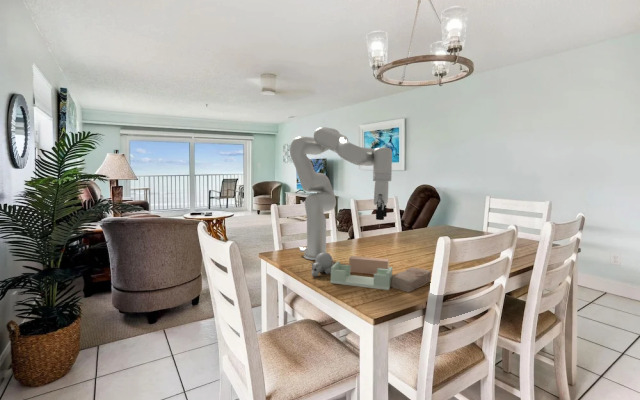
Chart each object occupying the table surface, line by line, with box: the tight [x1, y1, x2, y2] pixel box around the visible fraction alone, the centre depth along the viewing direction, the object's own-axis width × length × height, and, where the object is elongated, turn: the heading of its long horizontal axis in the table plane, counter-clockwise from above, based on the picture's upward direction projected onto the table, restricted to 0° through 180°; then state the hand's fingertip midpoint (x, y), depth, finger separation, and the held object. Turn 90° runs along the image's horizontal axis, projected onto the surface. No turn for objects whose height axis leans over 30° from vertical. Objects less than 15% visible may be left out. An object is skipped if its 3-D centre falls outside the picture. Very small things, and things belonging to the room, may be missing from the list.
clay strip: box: [348, 255, 390, 275], centre depth 139 cm, size 16×4×6 cm, turn 74°
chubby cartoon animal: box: [310, 251, 335, 278], centre depth 136 cm, size 7×12×8 cm, turn 137°
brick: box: [390, 266, 432, 293], centre depth 125 cm, size 17×8×5 cm, turn 135°
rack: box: [330, 261, 393, 291], centre depth 126 cm, size 22×9×6 cm, turn 70°
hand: (381, 218), depth 139 cm, fingers open, 9 cm apart
